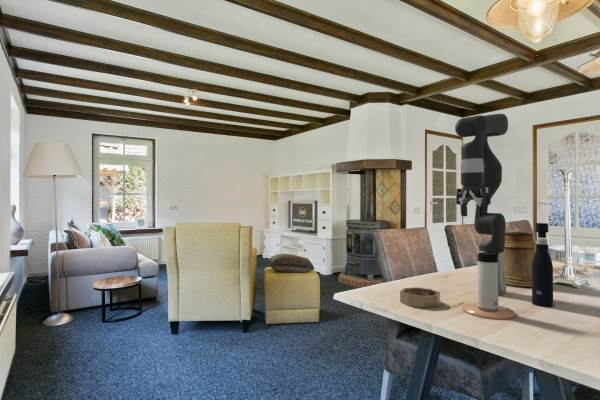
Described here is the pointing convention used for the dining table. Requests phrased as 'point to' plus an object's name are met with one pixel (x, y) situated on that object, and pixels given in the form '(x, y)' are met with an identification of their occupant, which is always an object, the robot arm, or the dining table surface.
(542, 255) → the black water bottle
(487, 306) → the travel mug
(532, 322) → the dining table surface
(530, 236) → the tankard
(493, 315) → the coaster
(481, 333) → the dining table surface
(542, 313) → the dining table surface
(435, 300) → the collar ring
